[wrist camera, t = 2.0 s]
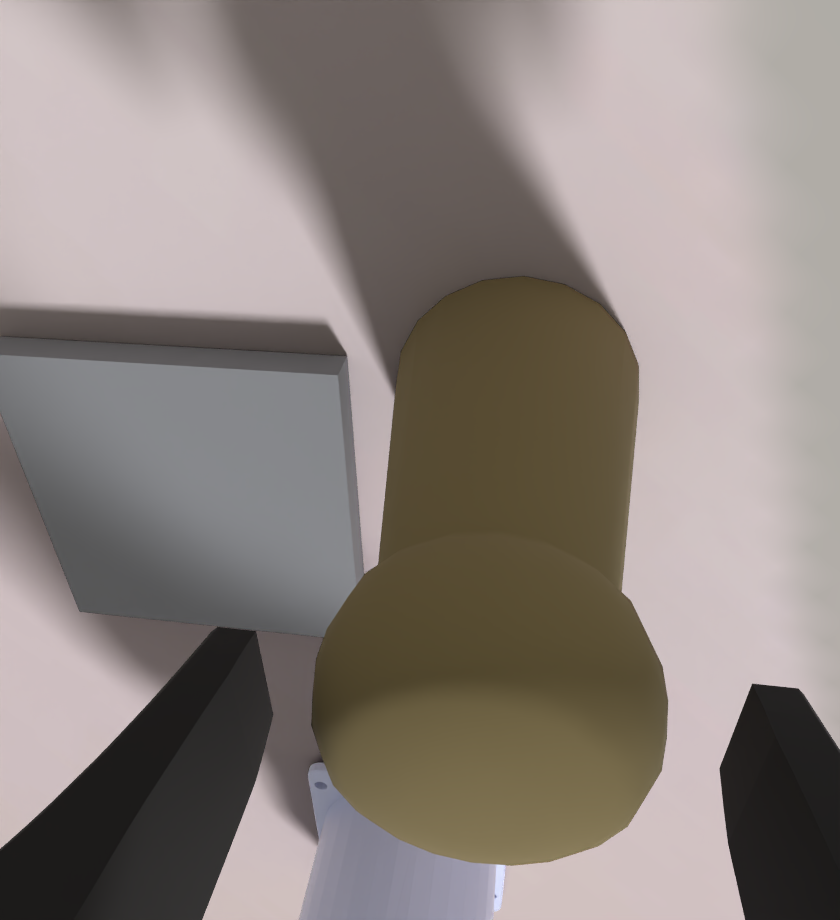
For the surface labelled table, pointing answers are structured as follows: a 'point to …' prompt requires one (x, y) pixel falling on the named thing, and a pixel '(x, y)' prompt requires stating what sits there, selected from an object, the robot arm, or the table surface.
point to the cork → (500, 592)
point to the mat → (191, 478)
